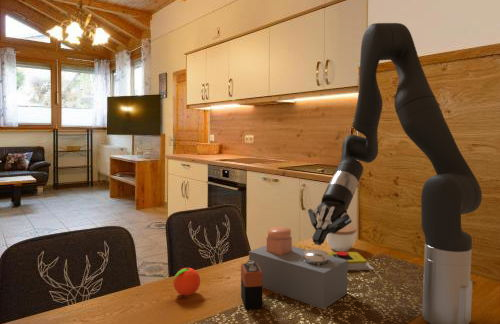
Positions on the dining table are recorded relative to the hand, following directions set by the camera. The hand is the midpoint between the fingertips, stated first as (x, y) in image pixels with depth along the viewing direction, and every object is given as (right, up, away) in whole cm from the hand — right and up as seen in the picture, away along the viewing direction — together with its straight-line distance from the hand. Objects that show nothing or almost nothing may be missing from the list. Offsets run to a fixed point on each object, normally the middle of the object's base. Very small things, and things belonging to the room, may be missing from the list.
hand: (316, 243), depth 97 cm
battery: (-17, -14, -4) cm, 22 cm away
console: (-5, -13, +5) cm, 15 cm away
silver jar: (0, -12, +1) cm, 12 cm away
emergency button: (+13, -13, +23) cm, 29 cm away
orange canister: (-9, -7, +9) cm, 14 cm away
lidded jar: (+16, -11, +39) cm, 44 cm away
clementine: (-34, -14, +1) cm, 37 cm away
